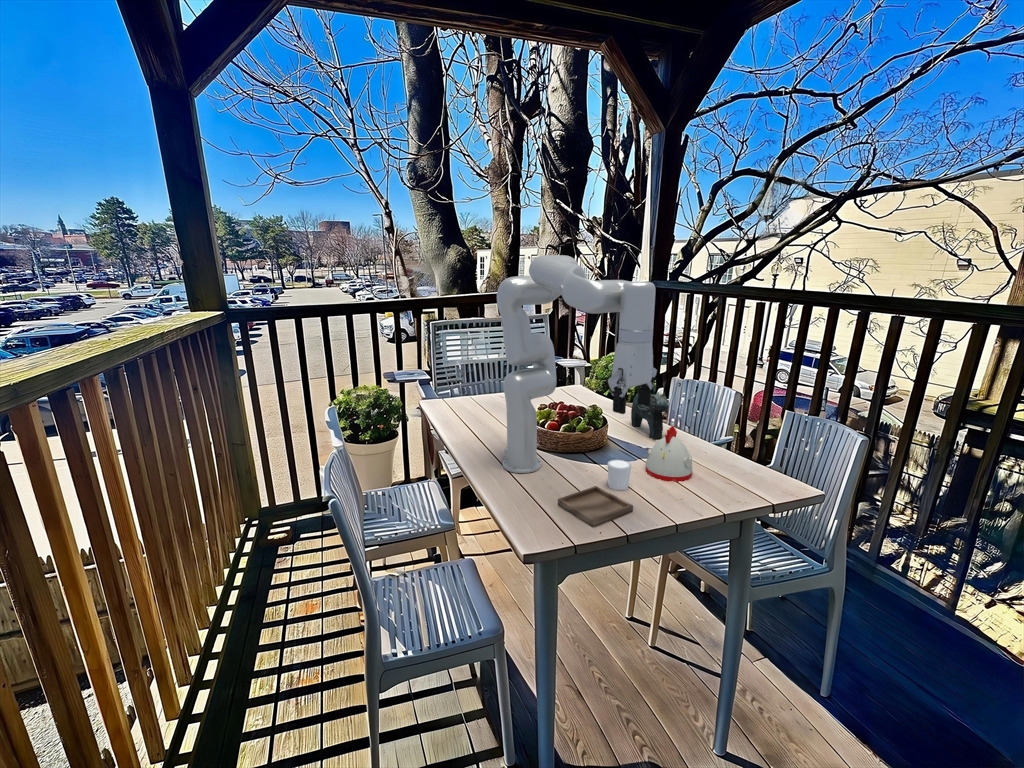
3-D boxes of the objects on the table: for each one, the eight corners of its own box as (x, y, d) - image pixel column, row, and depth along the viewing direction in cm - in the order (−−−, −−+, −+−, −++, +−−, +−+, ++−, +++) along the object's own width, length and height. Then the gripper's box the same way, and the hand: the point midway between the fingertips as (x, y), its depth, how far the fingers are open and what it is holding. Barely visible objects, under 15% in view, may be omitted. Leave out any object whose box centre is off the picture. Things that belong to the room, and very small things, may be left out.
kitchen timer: (638, 474, 148) (641, 428, 145) (654, 460, 159) (657, 417, 155) (683, 486, 140) (687, 438, 136) (697, 470, 151) (701, 425, 147)
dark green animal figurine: (667, 440, 176) (670, 388, 171) (651, 442, 175) (654, 389, 170) (640, 424, 195) (643, 376, 190) (625, 425, 193) (628, 377, 189)
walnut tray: (557, 504, 129) (557, 498, 129) (595, 491, 137) (595, 485, 136) (593, 527, 118) (593, 521, 117) (632, 511, 125) (633, 505, 125)
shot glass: (615, 493, 136) (616, 470, 134) (601, 483, 142) (602, 461, 140) (635, 488, 138) (636, 466, 137) (620, 479, 145) (621, 457, 143)
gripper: (643, 331, 117) (639, 399, 121) (598, 338, 106) (595, 412, 110) (671, 334, 112) (666, 405, 116) (626, 342, 101) (622, 419, 105)
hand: (631, 408), depth 113 cm, fingers open, 9 cm apart
